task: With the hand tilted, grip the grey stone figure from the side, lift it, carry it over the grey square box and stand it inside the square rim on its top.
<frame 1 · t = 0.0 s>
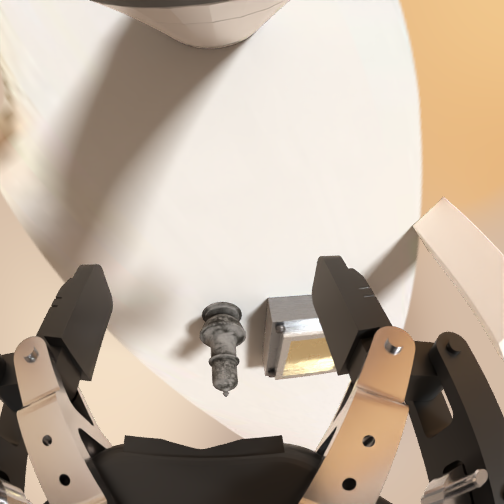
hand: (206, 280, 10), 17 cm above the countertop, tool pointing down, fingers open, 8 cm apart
milk: (434, 223, 32), on the countertop
grey stone figure: (221, 314, 38), on the countertop
grey square box: (310, 326, 41), on the countertop
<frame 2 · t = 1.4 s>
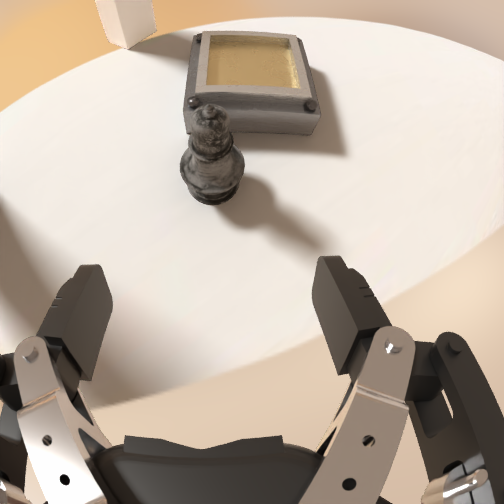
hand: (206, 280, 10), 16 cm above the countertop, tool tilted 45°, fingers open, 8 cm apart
milk: (132, 36, 32), on the countertop
grey stone figure: (213, 181, 28), on the countertop
grey square box: (247, 88, 31), on the countertop
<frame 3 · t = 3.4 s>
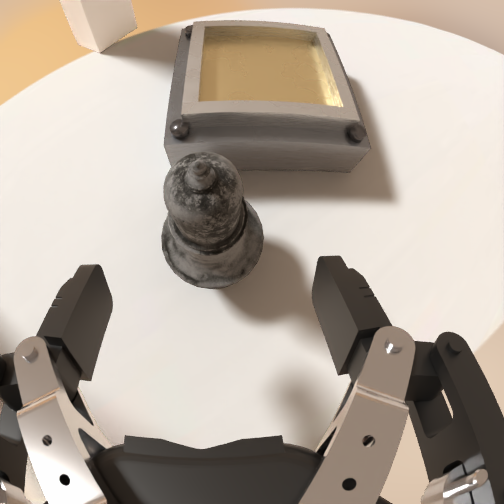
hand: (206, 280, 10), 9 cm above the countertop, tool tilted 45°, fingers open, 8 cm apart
milk: (107, 36, 24), on the countertop
grey stone figure: (214, 250, 20), on the countertop
grey square box: (259, 102, 22), on the countertop
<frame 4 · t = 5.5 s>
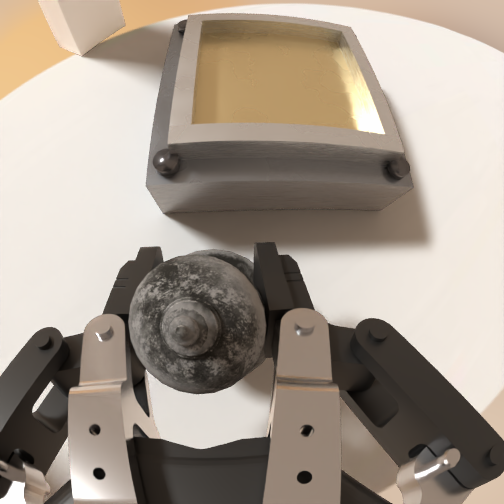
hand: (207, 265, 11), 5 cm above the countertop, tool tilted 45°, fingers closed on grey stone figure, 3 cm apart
milk: (91, 37, 20), on the countertop
grey stone figure: (216, 314, 16), on the countertop, touching gripper
grey square box: (270, 117, 18), on the countertop
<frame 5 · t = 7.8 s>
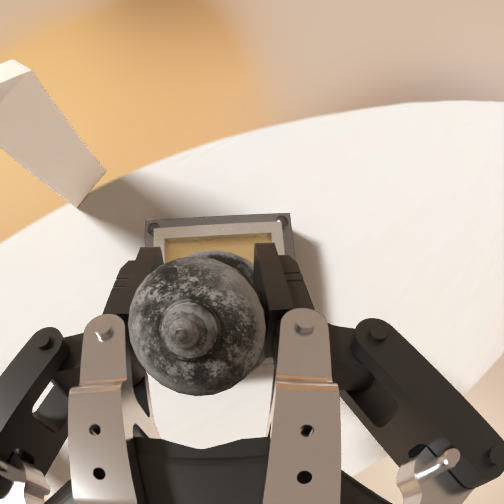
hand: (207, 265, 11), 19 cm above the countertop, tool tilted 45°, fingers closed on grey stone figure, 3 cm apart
milk: (79, 179, 30), on the countertop
grey stone figure: (216, 315, 16), point 14 cm above the countertop, touching gripper
grey square box: (221, 293, 29), on the countertop
when the fingers open (10 cm above the countertop, at t = 10.3 s): grey stone figure stays where it is, resting on grey square box.
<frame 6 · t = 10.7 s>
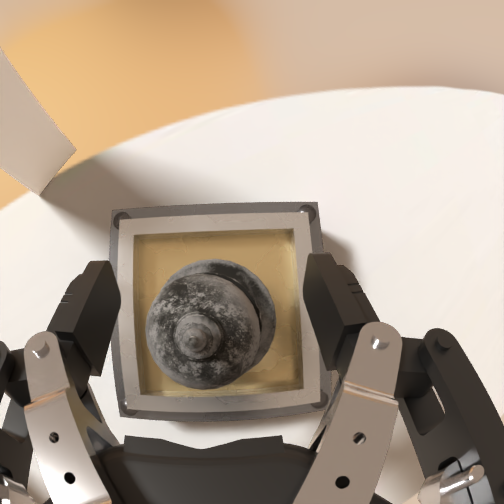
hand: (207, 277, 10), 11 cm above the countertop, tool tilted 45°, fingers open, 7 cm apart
milk: (46, 160, 22), on the countertop
grey stone figure: (216, 317, 17), point 4 cm above the countertop, touching grey square box
grey square box: (218, 313, 21), on the countertop
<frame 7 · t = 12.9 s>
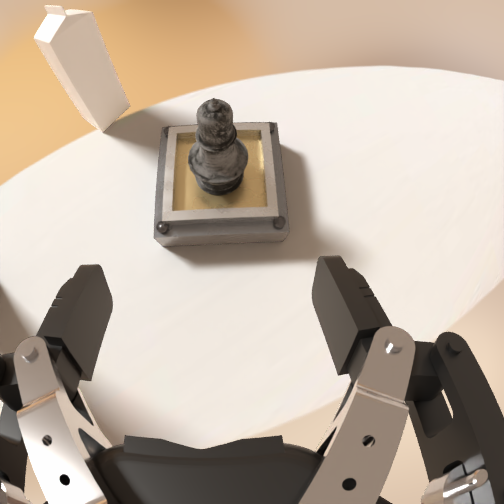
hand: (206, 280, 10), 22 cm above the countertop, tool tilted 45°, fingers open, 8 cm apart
milk: (106, 113, 36), on the countertop
grey stone figure: (219, 174, 30), point 4 cm above the countertop, touching grey square box
grey square box: (220, 188, 34), on the countertop
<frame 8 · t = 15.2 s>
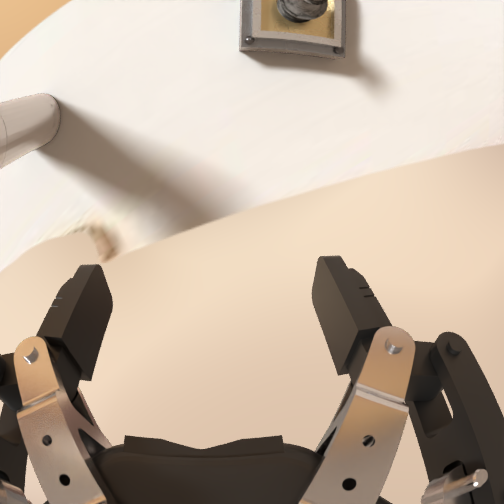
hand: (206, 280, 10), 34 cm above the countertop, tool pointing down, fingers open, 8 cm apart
grey stone figure: (296, 6, 25), point 4 cm above the countertop, touching grey square box
grey square box: (289, 12, 29), on the countertop
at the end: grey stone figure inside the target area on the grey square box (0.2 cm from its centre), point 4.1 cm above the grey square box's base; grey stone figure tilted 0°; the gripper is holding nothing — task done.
